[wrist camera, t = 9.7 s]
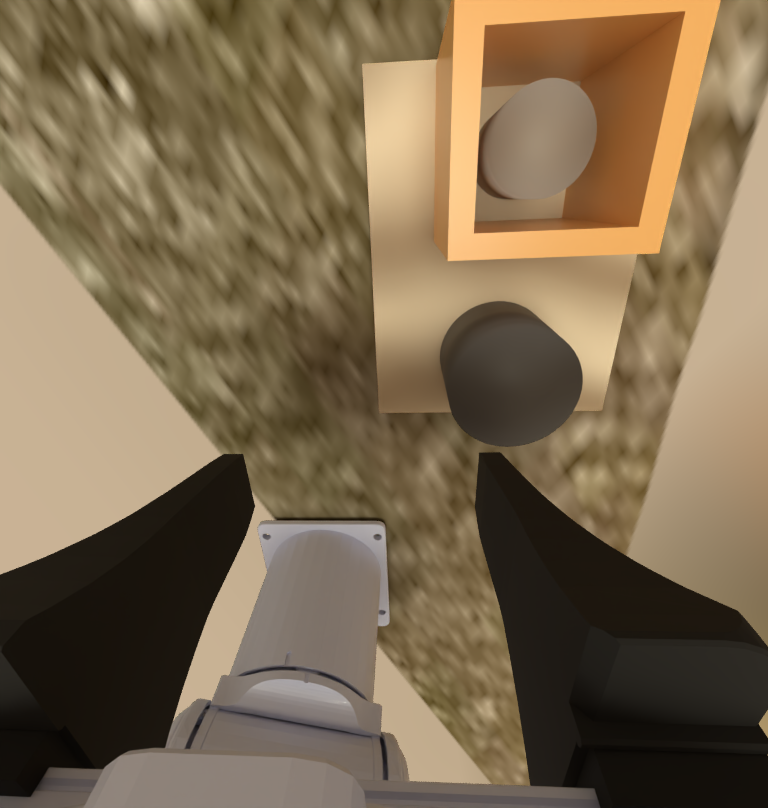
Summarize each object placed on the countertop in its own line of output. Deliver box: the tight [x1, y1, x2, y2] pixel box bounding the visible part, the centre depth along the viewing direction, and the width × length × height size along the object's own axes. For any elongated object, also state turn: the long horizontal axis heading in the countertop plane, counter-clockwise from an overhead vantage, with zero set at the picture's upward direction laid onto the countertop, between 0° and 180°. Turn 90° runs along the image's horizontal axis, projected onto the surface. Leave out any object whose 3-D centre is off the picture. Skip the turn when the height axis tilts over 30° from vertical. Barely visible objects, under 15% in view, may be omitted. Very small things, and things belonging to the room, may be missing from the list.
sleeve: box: [434, 0, 720, 261], centre depth 13 cm, size 6×6×6 cm
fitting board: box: [362, 60, 637, 447], centre depth 16 cm, size 14×11×5 cm
